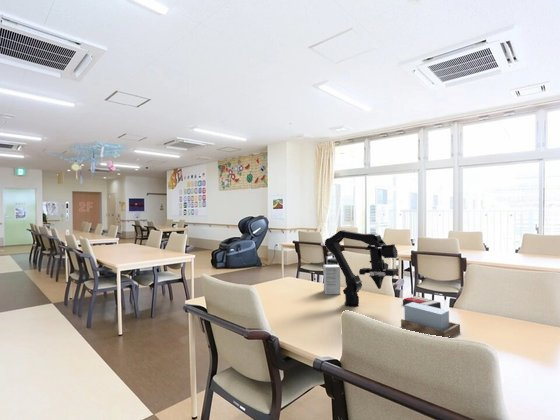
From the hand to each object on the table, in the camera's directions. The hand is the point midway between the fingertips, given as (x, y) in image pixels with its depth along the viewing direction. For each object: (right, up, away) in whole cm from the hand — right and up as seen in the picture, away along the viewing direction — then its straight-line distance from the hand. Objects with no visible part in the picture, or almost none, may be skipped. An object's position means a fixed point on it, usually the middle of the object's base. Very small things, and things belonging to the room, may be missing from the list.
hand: (379, 288), depth 157 cm
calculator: (+24, -12, +5) cm, 27 cm away
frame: (+13, -11, -24) cm, 30 cm away
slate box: (+13, -11, -24) cm, 29 cm away
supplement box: (-19, -12, +34) cm, 41 cm away
